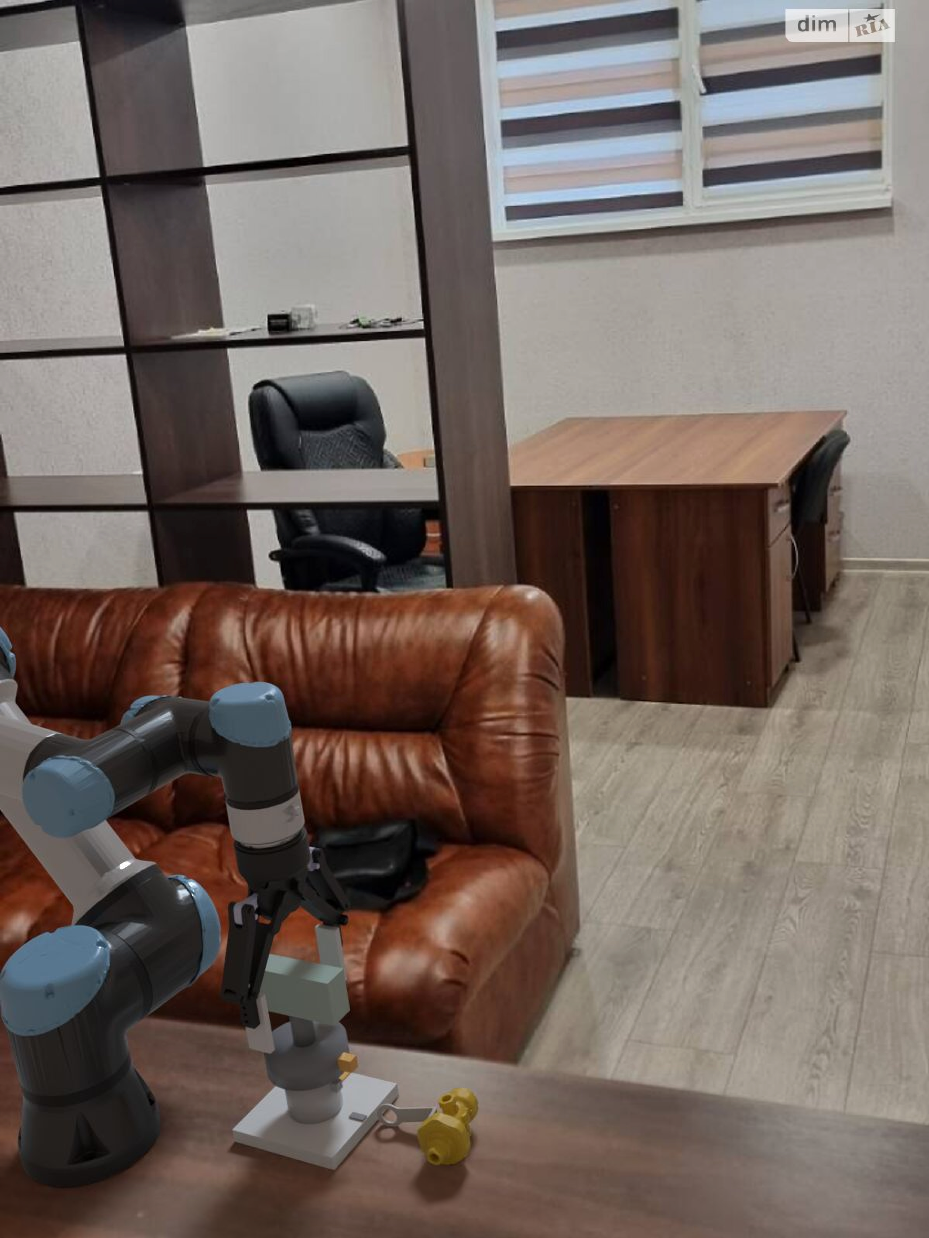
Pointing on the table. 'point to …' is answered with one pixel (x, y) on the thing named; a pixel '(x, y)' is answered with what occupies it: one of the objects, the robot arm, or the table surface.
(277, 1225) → the table surface
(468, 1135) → the pressure relief valve
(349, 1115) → the base
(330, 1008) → the cap
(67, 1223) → the table surface
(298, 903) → the robot arm
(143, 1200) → the table surface
